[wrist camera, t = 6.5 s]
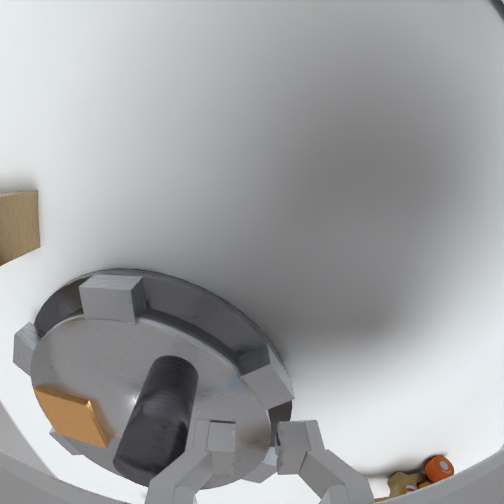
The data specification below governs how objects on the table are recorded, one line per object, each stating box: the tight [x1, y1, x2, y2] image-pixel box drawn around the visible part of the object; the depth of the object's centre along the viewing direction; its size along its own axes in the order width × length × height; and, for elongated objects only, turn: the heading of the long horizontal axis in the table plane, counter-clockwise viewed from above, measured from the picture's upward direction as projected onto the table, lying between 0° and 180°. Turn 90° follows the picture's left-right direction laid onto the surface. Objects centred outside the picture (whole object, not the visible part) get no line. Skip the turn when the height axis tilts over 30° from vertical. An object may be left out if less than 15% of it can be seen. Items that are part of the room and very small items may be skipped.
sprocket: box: [13, 274, 295, 490], centre depth 12 cm, size 18×19×8 cm
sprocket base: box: [34, 269, 292, 447], centre depth 17 cm, size 19×19×1 cm
